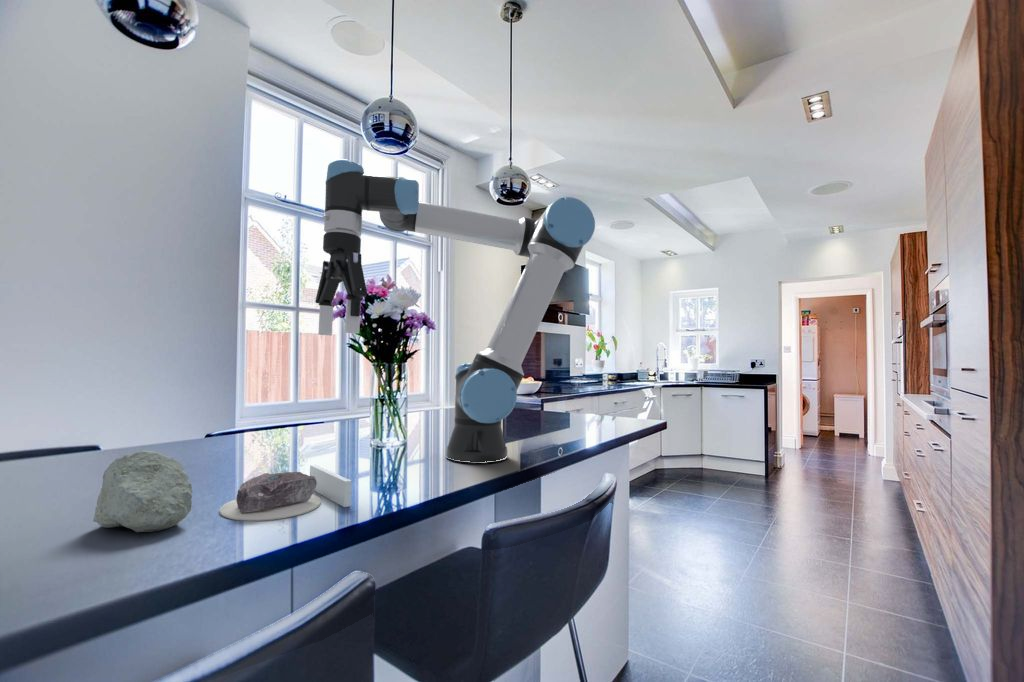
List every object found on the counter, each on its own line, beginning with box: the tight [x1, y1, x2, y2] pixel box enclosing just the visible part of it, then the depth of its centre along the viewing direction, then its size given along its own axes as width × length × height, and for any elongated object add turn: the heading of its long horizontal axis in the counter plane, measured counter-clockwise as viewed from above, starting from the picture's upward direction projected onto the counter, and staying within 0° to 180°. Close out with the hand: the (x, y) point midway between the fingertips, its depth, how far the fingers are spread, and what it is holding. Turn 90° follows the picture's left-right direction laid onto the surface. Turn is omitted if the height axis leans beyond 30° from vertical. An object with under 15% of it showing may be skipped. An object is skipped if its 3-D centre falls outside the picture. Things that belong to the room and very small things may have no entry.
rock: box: [236, 471, 317, 514], centre depth 75 cm, size 8×11×5 cm
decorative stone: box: [93, 449, 193, 533], centre depth 65 cm, size 13×11×10 cm
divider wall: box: [309, 464, 352, 508], centre depth 81 cm, size 1×15×4 cm, turn 43°
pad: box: [219, 494, 322, 522], centre depth 75 cm, size 14×14×1 cm
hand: (338, 334), depth 102 cm, fingers open, 13 cm apart
